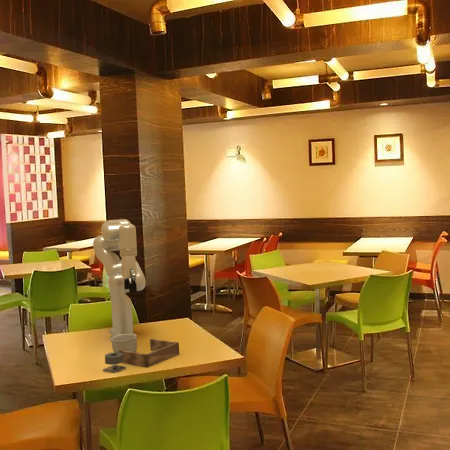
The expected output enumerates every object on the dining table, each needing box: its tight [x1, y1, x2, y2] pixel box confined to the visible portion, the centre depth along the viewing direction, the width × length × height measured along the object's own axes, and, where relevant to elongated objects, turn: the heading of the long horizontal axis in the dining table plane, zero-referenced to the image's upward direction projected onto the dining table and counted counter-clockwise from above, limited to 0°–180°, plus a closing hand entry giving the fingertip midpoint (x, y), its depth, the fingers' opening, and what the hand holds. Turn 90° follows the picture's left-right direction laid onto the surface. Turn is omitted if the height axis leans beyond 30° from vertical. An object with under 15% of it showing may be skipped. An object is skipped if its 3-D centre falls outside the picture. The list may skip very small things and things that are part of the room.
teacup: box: [110, 333, 138, 353], centre depth 255 cm, size 14×11×8 cm
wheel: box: [104, 352, 123, 366], centre depth 233 cm, size 7×7×3 cm
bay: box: [119, 338, 180, 368], centre depth 247 cm, size 15×20×5 cm
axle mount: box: [102, 364, 127, 374], centre depth 234 cm, size 6×6×3 cm
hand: (130, 290), depth 263 cm, fingers open, 9 cm apart
